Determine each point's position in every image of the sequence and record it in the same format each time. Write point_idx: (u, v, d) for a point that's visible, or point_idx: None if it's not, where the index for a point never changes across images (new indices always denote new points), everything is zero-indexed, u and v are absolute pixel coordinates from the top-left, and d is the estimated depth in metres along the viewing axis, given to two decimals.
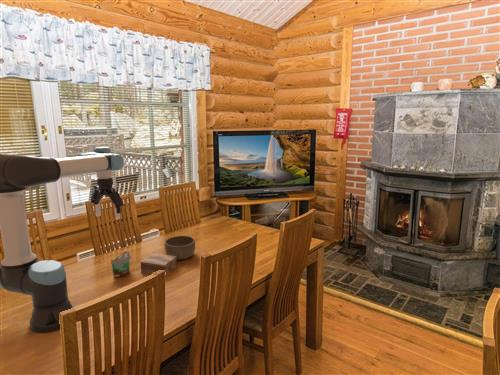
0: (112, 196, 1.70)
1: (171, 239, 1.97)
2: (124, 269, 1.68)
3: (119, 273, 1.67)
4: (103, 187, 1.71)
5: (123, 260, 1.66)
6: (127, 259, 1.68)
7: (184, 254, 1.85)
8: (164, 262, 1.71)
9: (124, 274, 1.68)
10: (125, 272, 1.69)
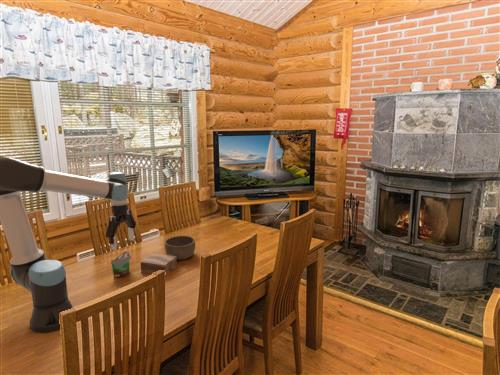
0: (114, 224, 1.62)
1: (171, 239, 1.97)
2: (124, 269, 1.68)
3: (119, 273, 1.67)
4: None
5: (123, 260, 1.66)
6: (127, 259, 1.68)
7: (184, 254, 1.85)
8: (164, 262, 1.71)
9: (124, 274, 1.68)
10: (125, 272, 1.69)
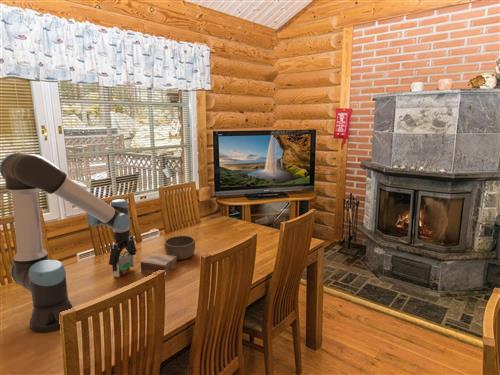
0: None
1: (171, 239, 1.97)
2: (124, 269, 1.68)
3: (120, 273, 1.67)
4: None
5: (123, 260, 1.66)
6: (127, 259, 1.68)
7: (184, 254, 1.85)
8: (164, 262, 1.71)
9: (124, 274, 1.69)
10: (125, 272, 1.69)
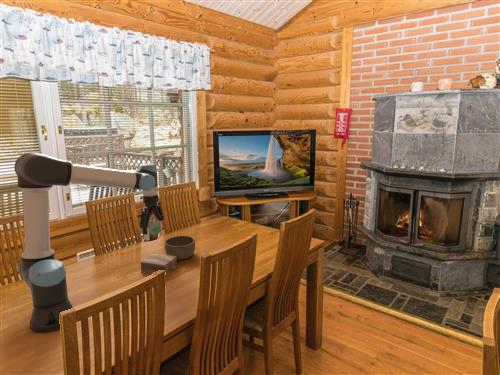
0: None
1: (171, 239, 1.97)
2: (154, 233, 1.70)
3: (149, 237, 1.69)
4: None
5: (153, 224, 1.68)
6: (156, 223, 1.70)
7: (184, 254, 1.85)
8: (164, 262, 1.71)
9: (153, 238, 1.70)
10: (154, 236, 1.71)
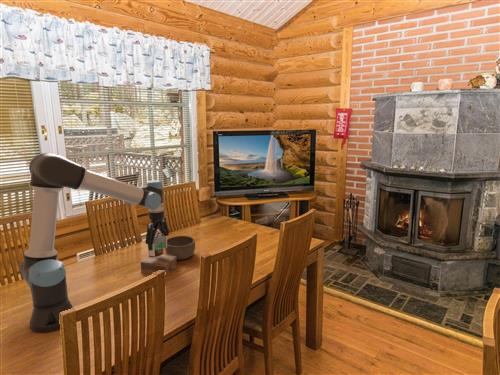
0: (152, 231, 1.68)
1: (171, 239, 1.97)
2: (159, 248, 1.72)
3: (155, 252, 1.71)
4: None
5: (158, 239, 1.70)
6: (162, 239, 1.72)
7: (184, 254, 1.85)
8: (164, 262, 1.71)
9: (159, 253, 1.72)
10: (160, 252, 1.73)
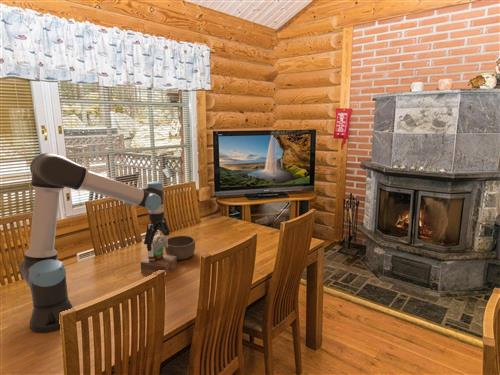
0: (151, 232, 1.68)
1: (171, 239, 1.97)
2: (159, 253, 1.72)
3: (154, 257, 1.71)
4: None
5: (158, 244, 1.70)
6: (162, 244, 1.72)
7: (184, 254, 1.85)
8: (164, 262, 1.71)
9: (159, 258, 1.73)
10: (159, 256, 1.73)
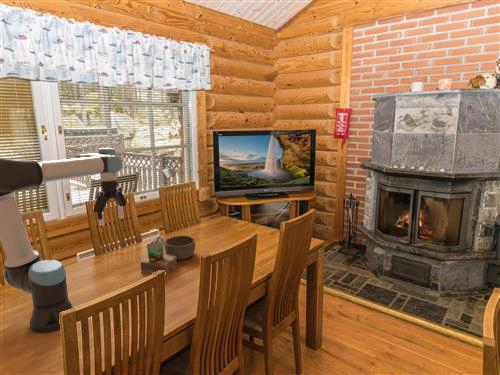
0: (103, 200, 1.61)
1: (171, 239, 1.97)
2: (159, 253, 1.72)
3: (154, 257, 1.71)
4: None
5: (158, 244, 1.70)
6: (162, 244, 1.72)
7: (184, 254, 1.85)
8: (164, 262, 1.71)
9: (159, 258, 1.73)
10: (159, 256, 1.73)
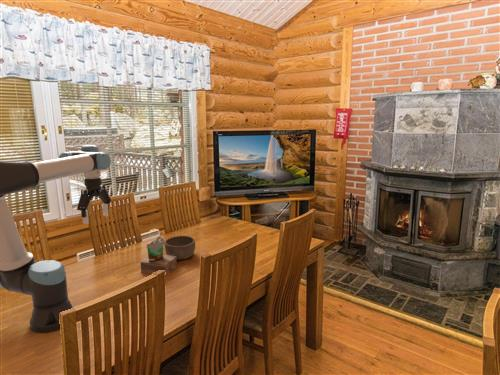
0: (86, 198, 1.60)
1: (171, 239, 1.97)
2: (159, 253, 1.72)
3: (154, 257, 1.71)
4: None
5: (158, 244, 1.70)
6: (162, 244, 1.72)
7: (184, 254, 1.85)
8: (164, 262, 1.71)
9: (159, 258, 1.73)
10: (159, 256, 1.73)
